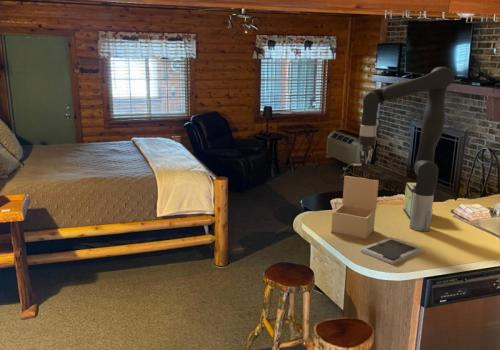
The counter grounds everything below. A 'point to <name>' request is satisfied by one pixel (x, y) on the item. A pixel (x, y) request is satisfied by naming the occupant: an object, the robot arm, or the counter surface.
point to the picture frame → (391, 250)
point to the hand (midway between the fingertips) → (365, 170)
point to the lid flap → (360, 192)
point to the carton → (353, 221)
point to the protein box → (408, 198)
